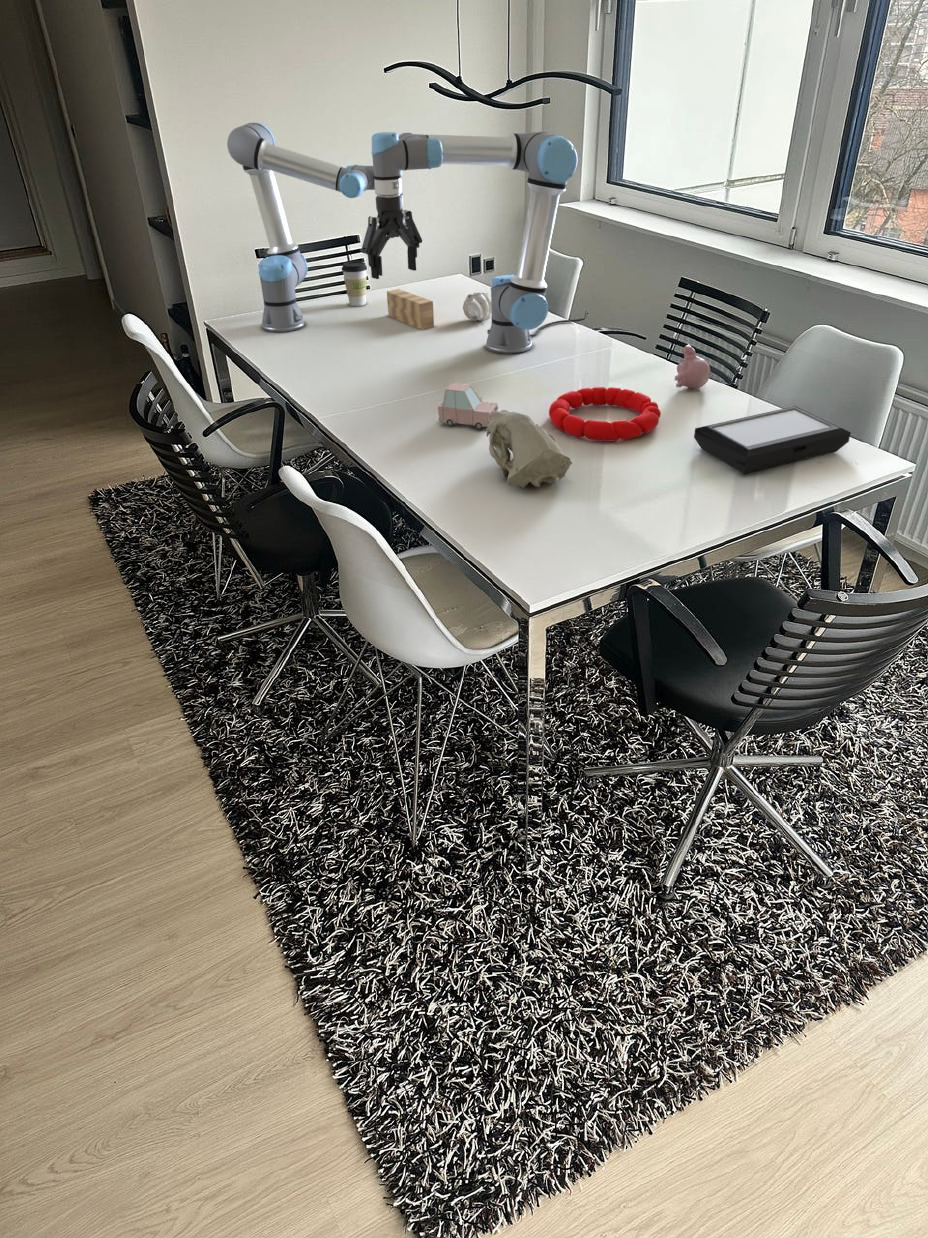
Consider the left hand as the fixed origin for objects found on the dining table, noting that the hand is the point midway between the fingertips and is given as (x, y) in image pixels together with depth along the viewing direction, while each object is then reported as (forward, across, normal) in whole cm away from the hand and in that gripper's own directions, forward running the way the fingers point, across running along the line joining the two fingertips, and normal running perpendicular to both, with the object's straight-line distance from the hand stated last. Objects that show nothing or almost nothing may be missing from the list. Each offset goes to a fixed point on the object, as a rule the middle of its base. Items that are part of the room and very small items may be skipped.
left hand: (395, 272), depth 323 cm
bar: (+16, +1, -8) cm, 18 cm away
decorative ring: (+14, -13, -123) cm, 125 cm away
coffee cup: (+17, -2, +25) cm, 30 cm away
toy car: (+15, -42, -100) cm, 109 cm away
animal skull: (+15, -50, -132) cm, 142 cm away
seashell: (+15, +20, -25) cm, 35 cm away
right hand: (-15, -35, -54) cm, 66 cm away
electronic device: (+13, +5, -164) cm, 164 cm away
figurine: (+14, +24, -121) cm, 124 cm away
